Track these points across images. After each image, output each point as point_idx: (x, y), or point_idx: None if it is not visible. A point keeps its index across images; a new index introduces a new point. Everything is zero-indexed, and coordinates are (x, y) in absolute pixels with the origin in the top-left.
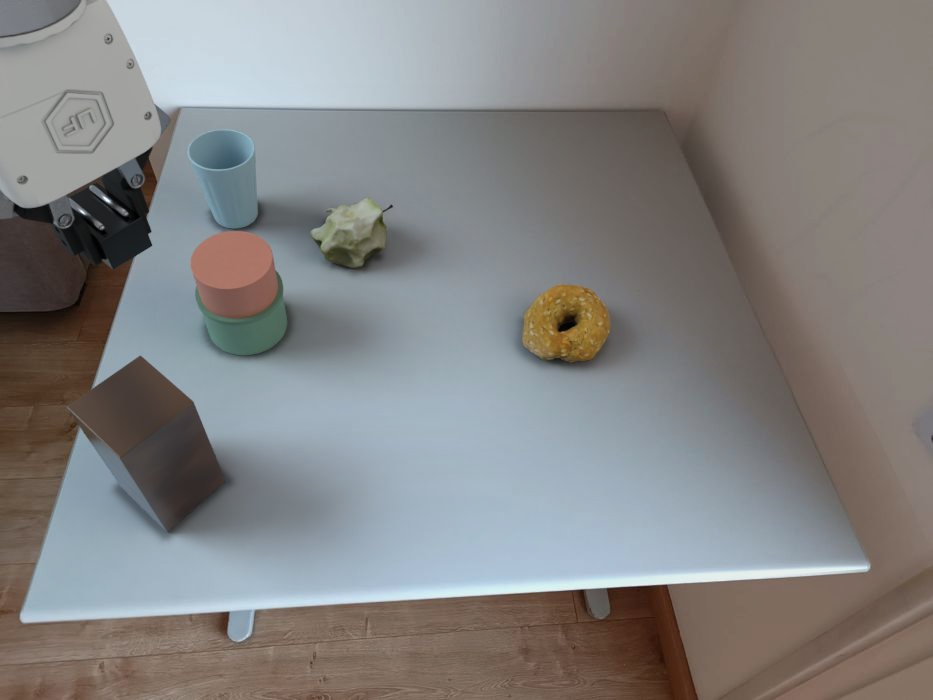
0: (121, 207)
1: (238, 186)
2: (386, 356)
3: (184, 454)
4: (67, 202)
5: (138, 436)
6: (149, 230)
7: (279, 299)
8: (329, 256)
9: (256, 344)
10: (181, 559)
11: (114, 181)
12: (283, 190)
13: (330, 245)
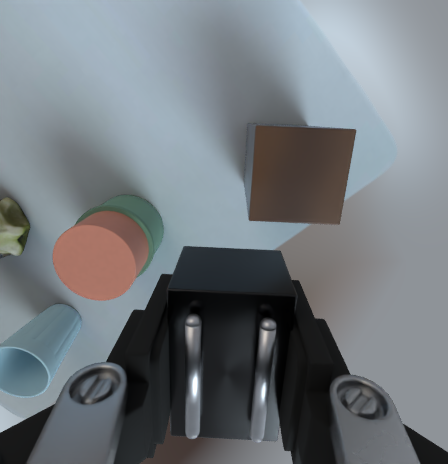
0: (187, 343)
1: (36, 332)
2: (58, 104)
3: (280, 125)
4: (350, 453)
5: (324, 136)
6: (164, 276)
7: (91, 209)
8: (24, 225)
9: (139, 202)
10: (318, 97)
11: (148, 419)
12: (14, 311)
13: (12, 228)
